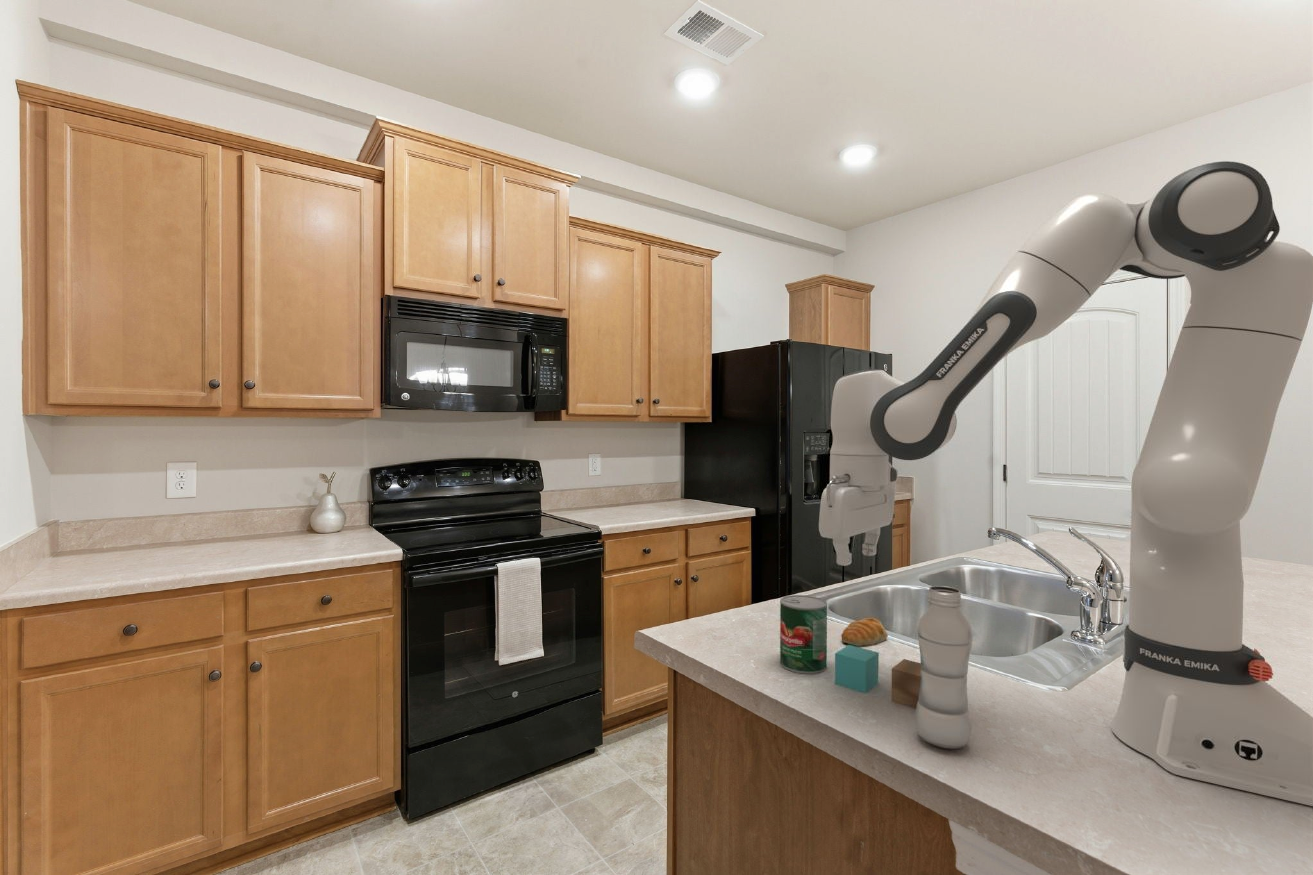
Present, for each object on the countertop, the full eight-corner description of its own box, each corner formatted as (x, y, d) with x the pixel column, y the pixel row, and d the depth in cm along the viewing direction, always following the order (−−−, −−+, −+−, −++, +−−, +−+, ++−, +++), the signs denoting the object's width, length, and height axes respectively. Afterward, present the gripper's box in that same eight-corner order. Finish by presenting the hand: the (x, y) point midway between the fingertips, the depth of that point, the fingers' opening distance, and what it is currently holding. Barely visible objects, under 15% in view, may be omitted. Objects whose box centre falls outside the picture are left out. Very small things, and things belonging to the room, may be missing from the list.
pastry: (863, 652, 111) (863, 631, 111) (831, 642, 116) (831, 622, 116) (890, 640, 117) (890, 620, 117) (858, 631, 122) (858, 612, 122)
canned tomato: (830, 660, 107) (831, 598, 106) (822, 677, 100) (823, 610, 99) (785, 653, 110) (785, 592, 110) (774, 669, 103) (775, 604, 103)
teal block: (878, 683, 98) (878, 652, 97) (865, 693, 94) (865, 661, 94) (848, 674, 101) (848, 644, 101) (834, 684, 97) (835, 653, 97)
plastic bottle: (922, 724, 84) (924, 580, 83) (976, 741, 80) (979, 588, 79) (907, 743, 79) (909, 590, 78) (964, 762, 75) (967, 599, 74)
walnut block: (937, 700, 91) (937, 667, 91) (926, 712, 88) (926, 677, 88) (903, 690, 95) (904, 658, 95) (891, 701, 91) (891, 668, 91)
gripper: (849, 478, 87) (847, 574, 87) (902, 470, 102) (900, 552, 102) (808, 475, 91) (807, 567, 91) (865, 468, 106) (864, 547, 107)
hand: (857, 559), depth 97 cm, fingers open, 8 cm apart
